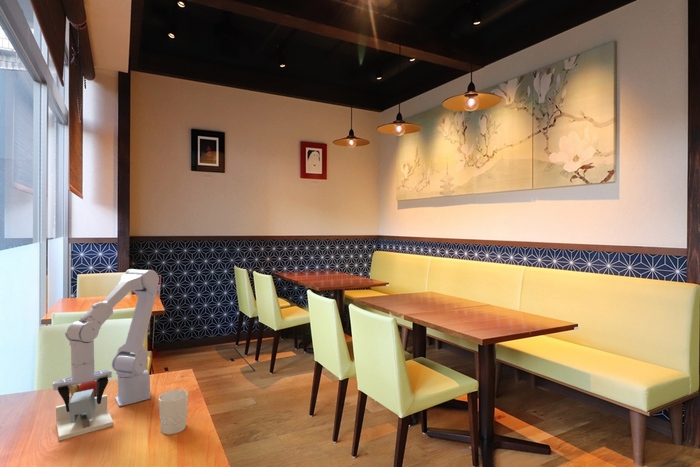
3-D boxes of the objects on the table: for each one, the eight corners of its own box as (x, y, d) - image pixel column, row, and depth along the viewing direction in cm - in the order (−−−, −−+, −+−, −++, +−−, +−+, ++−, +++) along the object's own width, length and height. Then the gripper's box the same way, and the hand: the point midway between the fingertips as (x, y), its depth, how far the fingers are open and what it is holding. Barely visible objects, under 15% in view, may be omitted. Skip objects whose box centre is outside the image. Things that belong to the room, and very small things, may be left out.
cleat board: (106, 410, 128) (106, 394, 127) (113, 425, 118) (112, 408, 118) (56, 423, 119) (55, 406, 119) (58, 440, 110) (58, 422, 110)
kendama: (55, 395, 142) (78, 401, 132) (58, 376, 143) (81, 381, 133) (80, 391, 148) (103, 396, 138) (82, 373, 149) (105, 377, 139)
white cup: (194, 424, 119) (193, 391, 119) (174, 438, 112) (174, 402, 111) (173, 420, 122) (172, 387, 121) (152, 433, 114) (152, 398, 114)
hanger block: (95, 407, 123) (93, 388, 122) (91, 418, 117) (89, 399, 116) (76, 411, 121) (74, 392, 120) (70, 423, 115) (68, 403, 114)
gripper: (108, 353, 127) (108, 395, 127) (51, 363, 117) (52, 409, 118) (112, 358, 122) (113, 402, 122) (53, 370, 112) (54, 418, 112)
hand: (83, 406), depth 120 cm, fingers open, 7 cm apart
